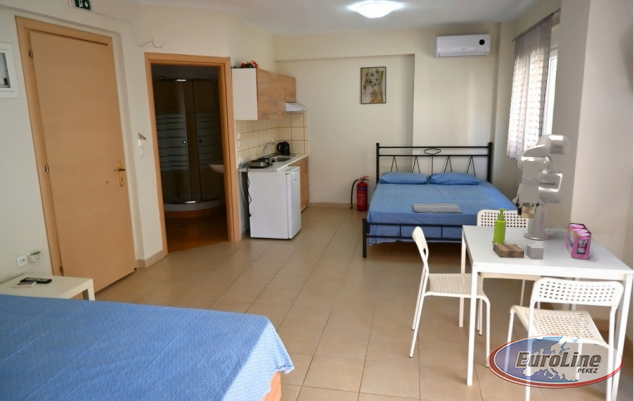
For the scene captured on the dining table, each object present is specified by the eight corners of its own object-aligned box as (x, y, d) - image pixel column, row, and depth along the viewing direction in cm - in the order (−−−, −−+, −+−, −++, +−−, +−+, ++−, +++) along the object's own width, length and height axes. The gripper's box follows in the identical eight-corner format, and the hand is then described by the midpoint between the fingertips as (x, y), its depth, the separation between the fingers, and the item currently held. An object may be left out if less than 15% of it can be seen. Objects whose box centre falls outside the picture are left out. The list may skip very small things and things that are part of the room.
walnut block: (515, 251, 239) (516, 244, 238) (523, 258, 227) (524, 251, 226) (492, 250, 240) (493, 243, 239) (499, 258, 228) (500, 250, 227)
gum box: (589, 260, 224) (593, 235, 221) (571, 258, 227) (575, 233, 224) (581, 247, 246) (584, 223, 243) (565, 245, 248) (568, 222, 246)
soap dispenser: (507, 244, 250) (511, 210, 246) (495, 244, 250) (498, 210, 246) (504, 241, 255) (507, 207, 251) (491, 241, 256) (494, 207, 252)
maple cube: (529, 215, 239) (530, 205, 237) (533, 218, 233) (535, 207, 232) (517, 215, 239) (519, 204, 238) (522, 218, 233) (523, 206, 232)
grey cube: (537, 255, 231) (539, 244, 230) (542, 259, 225) (543, 248, 224) (526, 255, 232) (527, 244, 231) (530, 259, 226) (531, 247, 225)
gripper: (543, 181, 235) (539, 213, 239) (510, 180, 236) (506, 213, 240) (549, 183, 228) (545, 217, 231) (515, 182, 229) (511, 216, 233)
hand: (525, 214), depth 236 cm, fingers closed on maple cube, 6 cm apart
